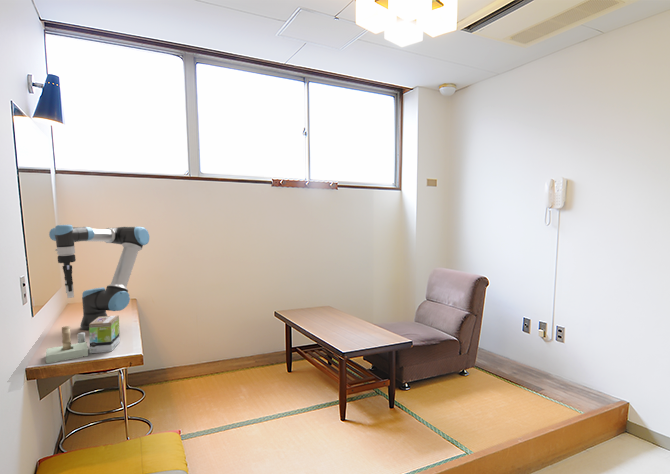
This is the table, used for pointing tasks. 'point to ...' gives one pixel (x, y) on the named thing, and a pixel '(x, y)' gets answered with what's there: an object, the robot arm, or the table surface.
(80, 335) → the short rod
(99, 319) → the tea box
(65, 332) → the long dowel
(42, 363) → the table surface
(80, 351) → the hole plate
